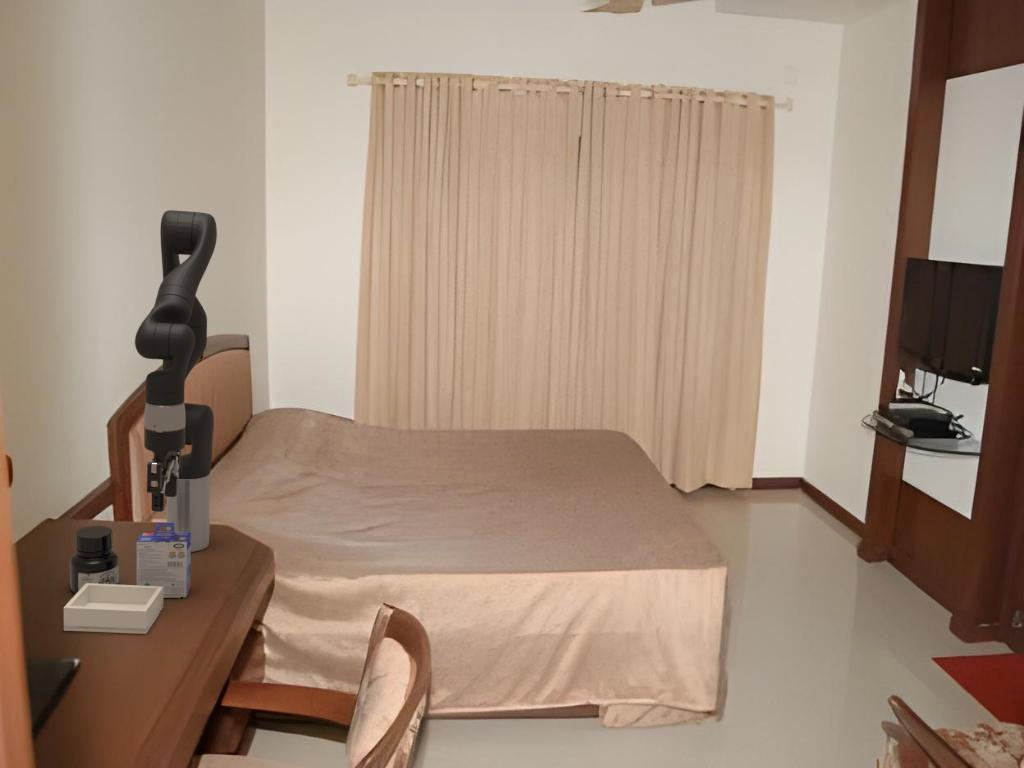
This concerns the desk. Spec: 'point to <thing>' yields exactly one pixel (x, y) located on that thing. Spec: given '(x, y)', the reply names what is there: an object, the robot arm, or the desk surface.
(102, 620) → the tray
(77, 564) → the ink bottle
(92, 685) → the desk surface
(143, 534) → the ink cartridge box
